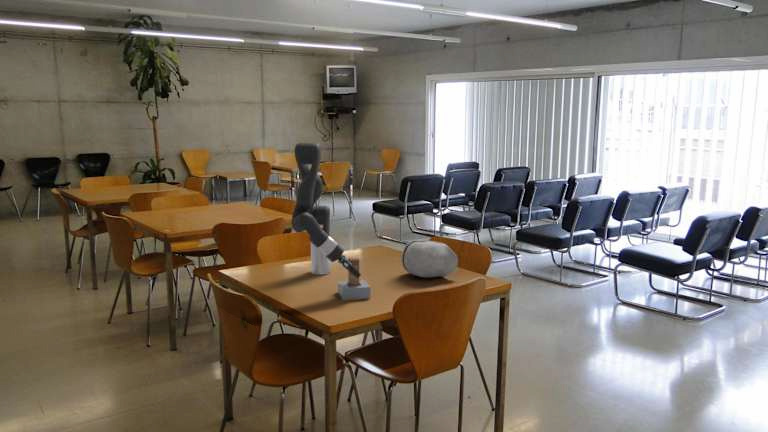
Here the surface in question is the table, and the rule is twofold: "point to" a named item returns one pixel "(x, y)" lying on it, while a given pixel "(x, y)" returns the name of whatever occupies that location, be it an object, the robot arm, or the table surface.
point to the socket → (354, 290)
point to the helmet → (429, 259)
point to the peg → (351, 278)
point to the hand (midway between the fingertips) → (358, 274)
